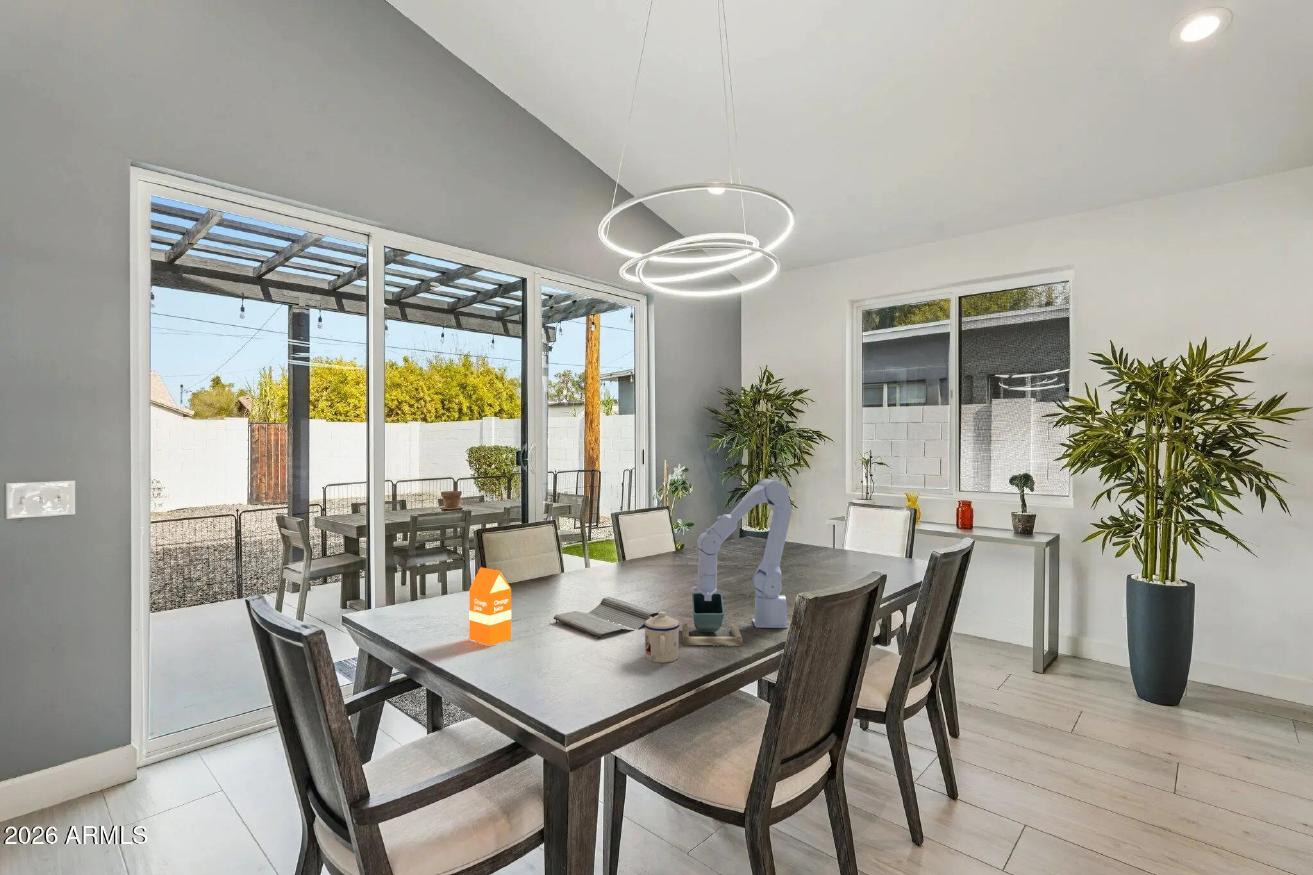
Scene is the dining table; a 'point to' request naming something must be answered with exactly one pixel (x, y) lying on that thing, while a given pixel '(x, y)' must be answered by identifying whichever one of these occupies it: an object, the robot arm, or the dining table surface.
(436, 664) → the dining table surface
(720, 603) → the flower pot
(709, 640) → the cream wooden frame
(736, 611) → the dining table surface
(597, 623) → the mat
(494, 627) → the orange juice
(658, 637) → the teacup with lid
